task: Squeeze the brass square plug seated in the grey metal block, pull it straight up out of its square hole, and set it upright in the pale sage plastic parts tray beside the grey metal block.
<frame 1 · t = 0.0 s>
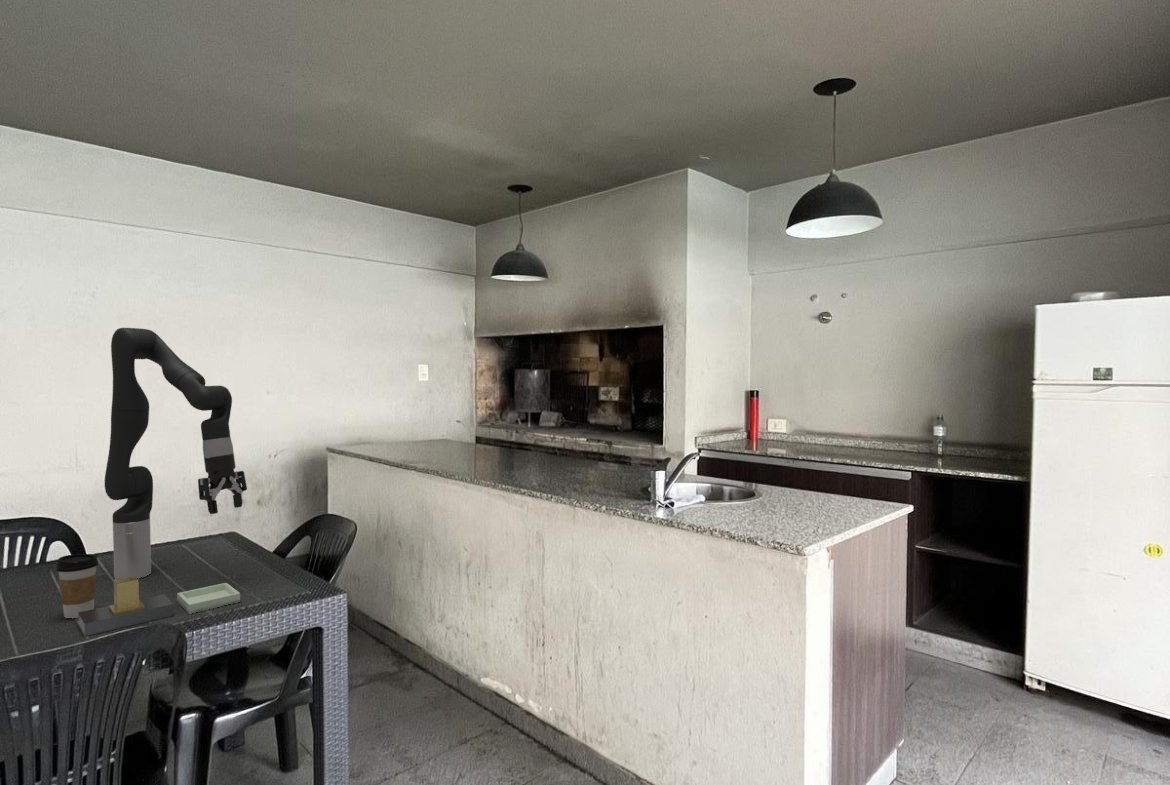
hand: (226, 510, 183), 22 cm above the table, tool pointing down, fingers open, 8 cm apart
coffee cup: (79, 615, 163), on the table
brass plug: (126, 599, 159), in the grey metal block
parts tray: (208, 602, 171), on the table
grey metal block: (127, 619, 159), on the table
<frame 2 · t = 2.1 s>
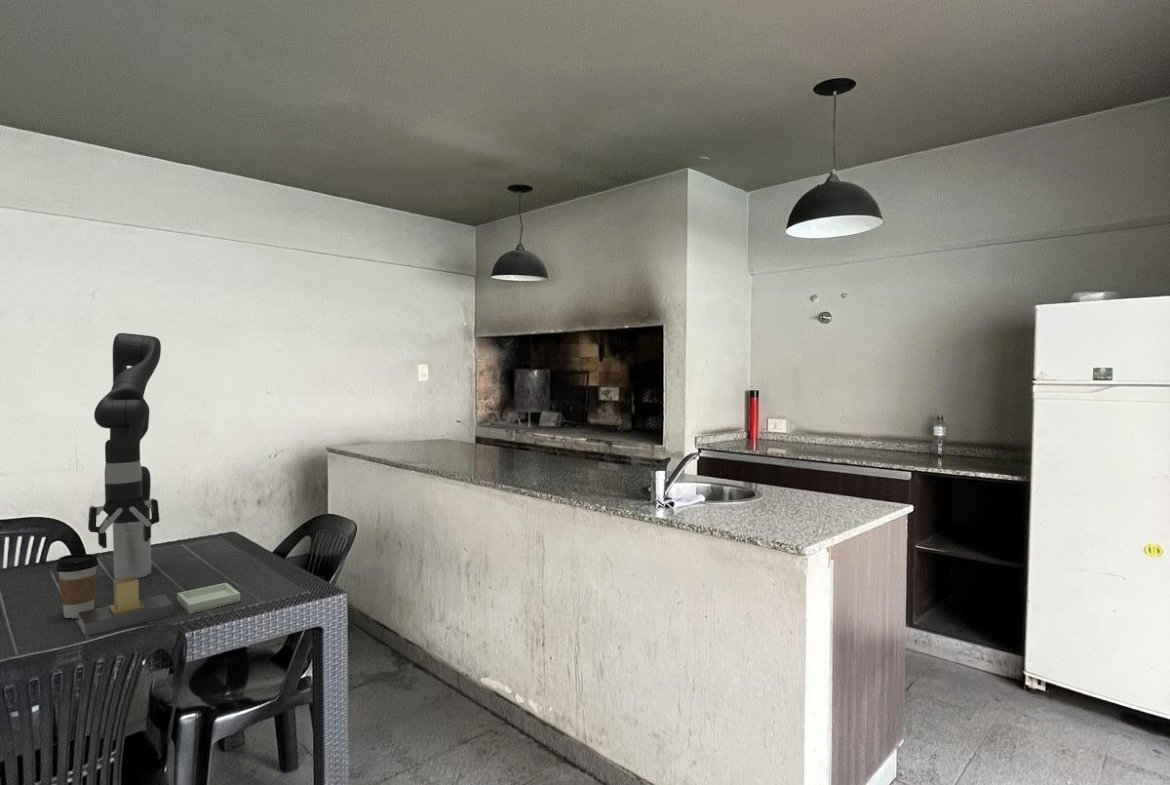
hand: (125, 544, 159), 19 cm above the table, tool pointing down, fingers open, 8 cm apart
nothing on the table moved.
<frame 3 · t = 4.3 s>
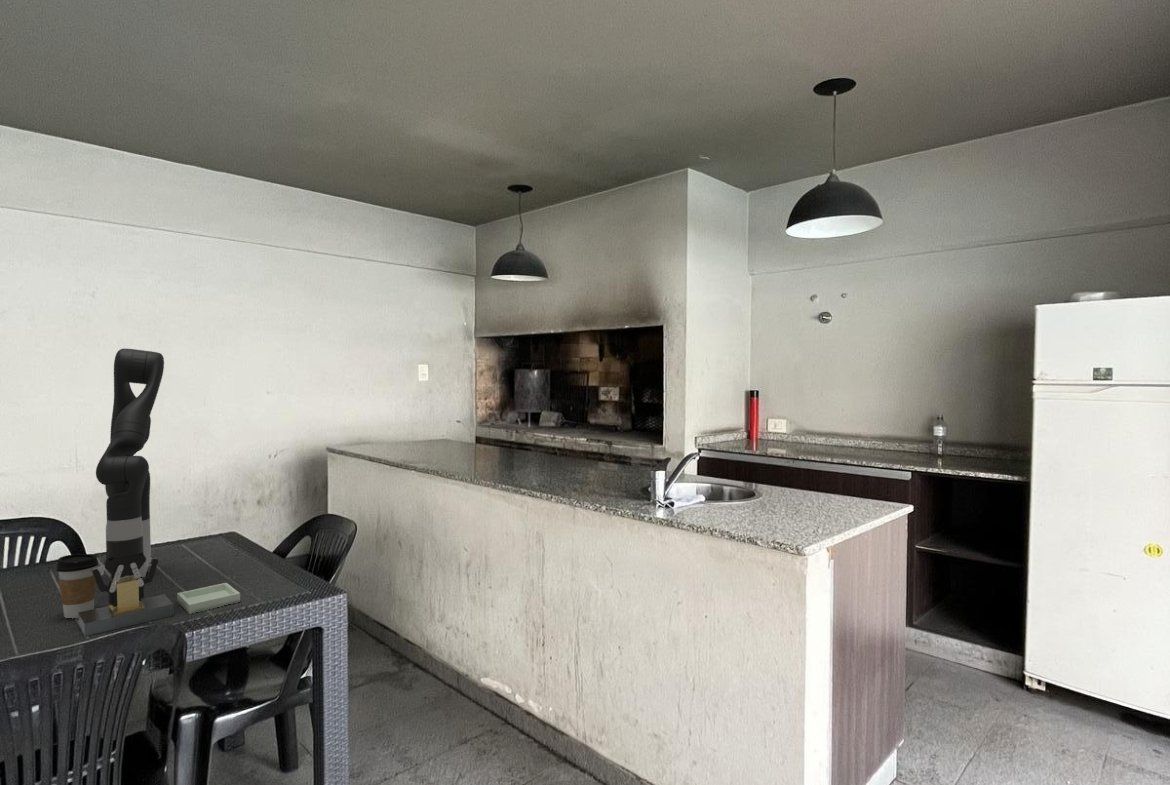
hand: (126, 603, 159), 4 cm above the table, tool pointing down, fingers closed on brass plug, 4 cm apart
brass plug: (126, 599, 159), in the grey metal block, touching gripper
everything else where it was.
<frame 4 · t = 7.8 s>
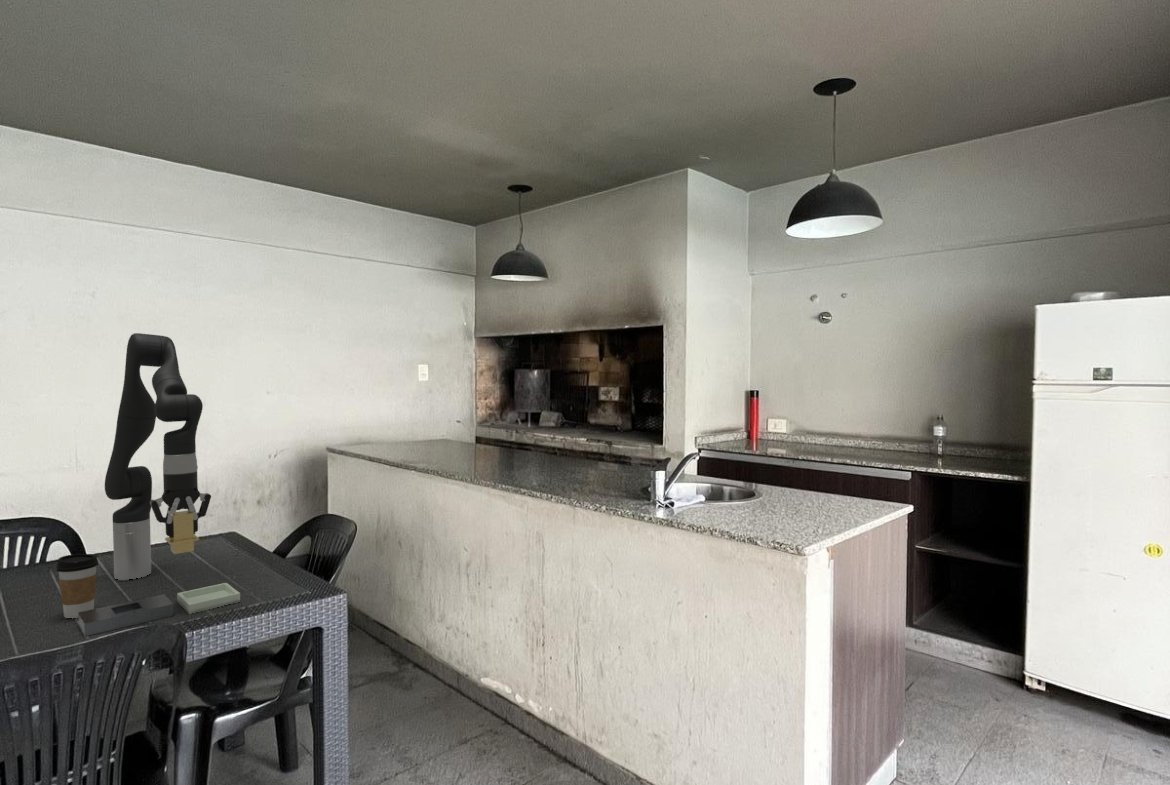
hand: (182, 535, 167), 19 cm above the table, tool pointing down, fingers closed on brass plug, 4 cm apart
brass plug: (181, 531, 167), point 20 cm above the table, touching gripper
everything else where it was.
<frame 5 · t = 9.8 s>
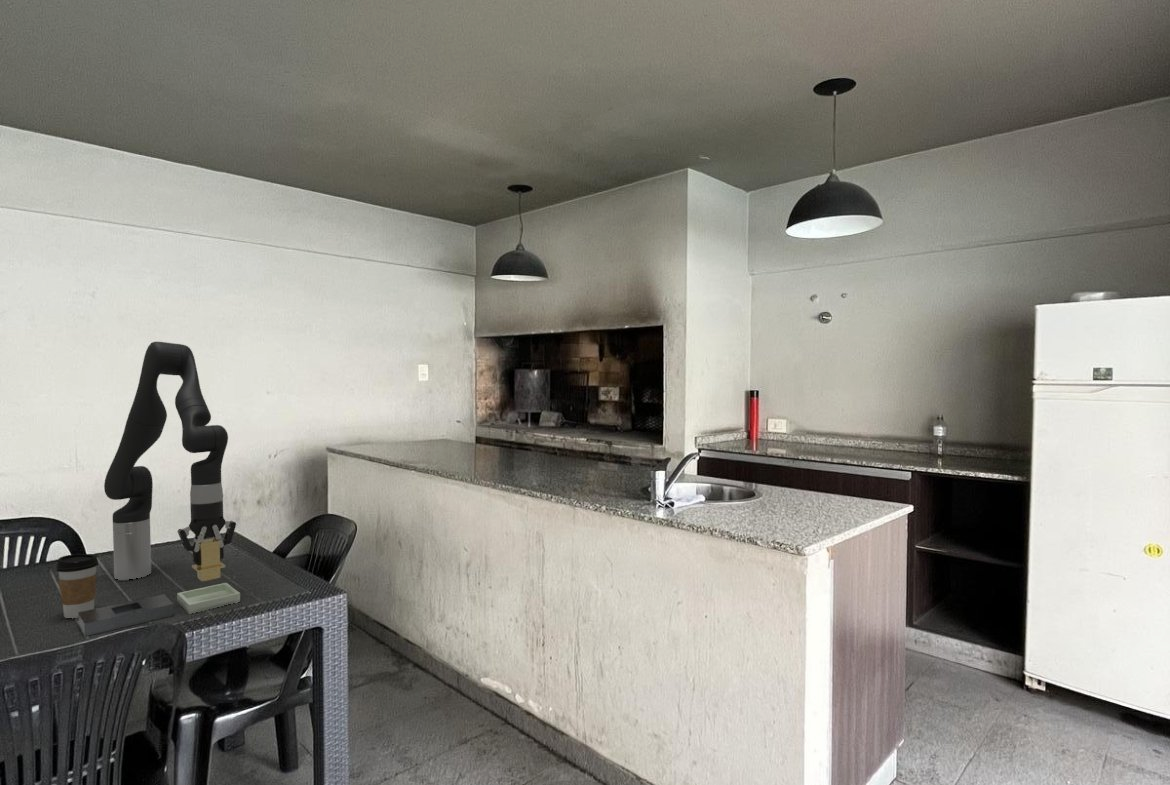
hand: (208, 562, 171), 11 cm above the table, tool pointing down, fingers closed on brass plug, 4 cm apart
brass plug: (208, 559, 171), point 12 cm above the table, touching gripper
everything else where it was.
when the fingers open (7 cm above the table, at t = 11.4 s): brass plug drops 2 cm, resting on parts tray.
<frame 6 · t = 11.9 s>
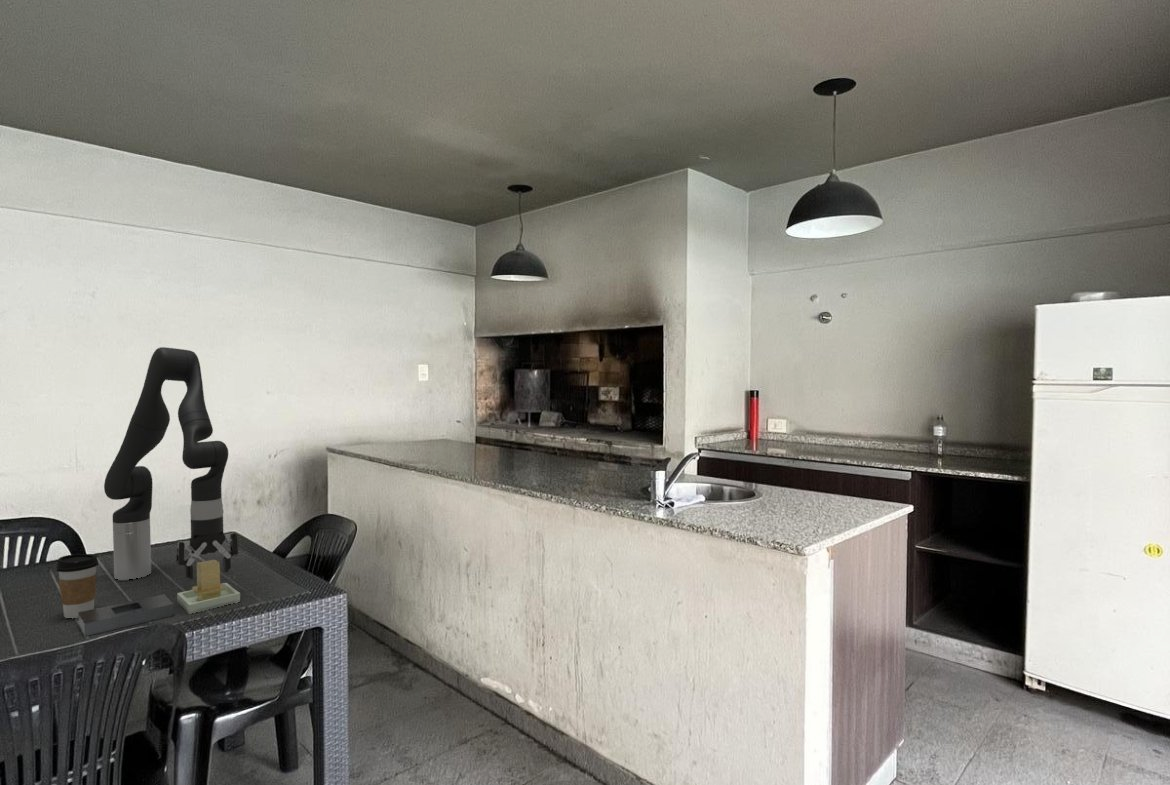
hand: (208, 575, 171), 7 cm above the table, tool pointing down, fingers open, 8 cm apart
brass plug: (208, 581, 171), in the parts tray, point 6 cm above the table
everything else where it was.
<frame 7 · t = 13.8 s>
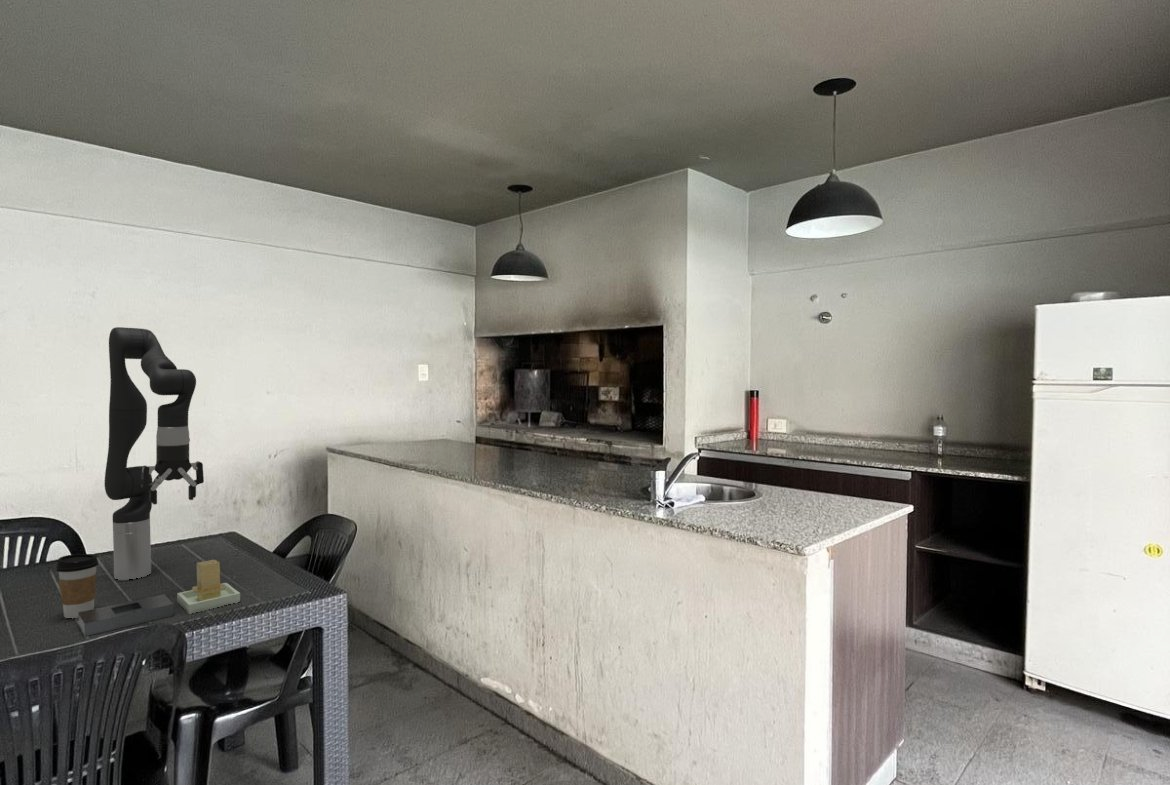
hand: (172, 501, 173), 27 cm above the table, tool pointing down, fingers open, 8 cm apart
nothing on the table moved.
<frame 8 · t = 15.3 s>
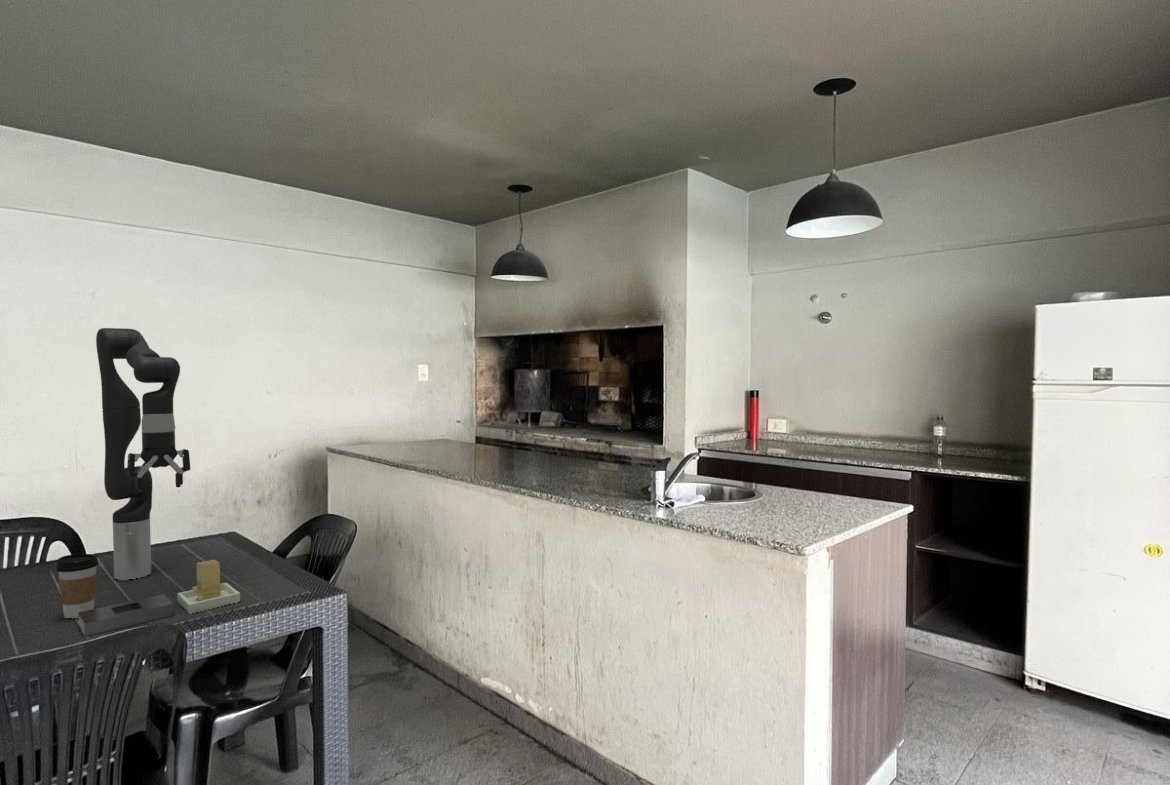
hand: (159, 489, 174), 30 cm above the table, tool pointing down, fingers open, 8 cm apart
nothing on the table moved.
at the end: brass plug 0.1 cm off-centre on the parts tray, point 5.8 cm above the parts tray's base; brass plug tilted 0°; the gripper is holding nothing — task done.
